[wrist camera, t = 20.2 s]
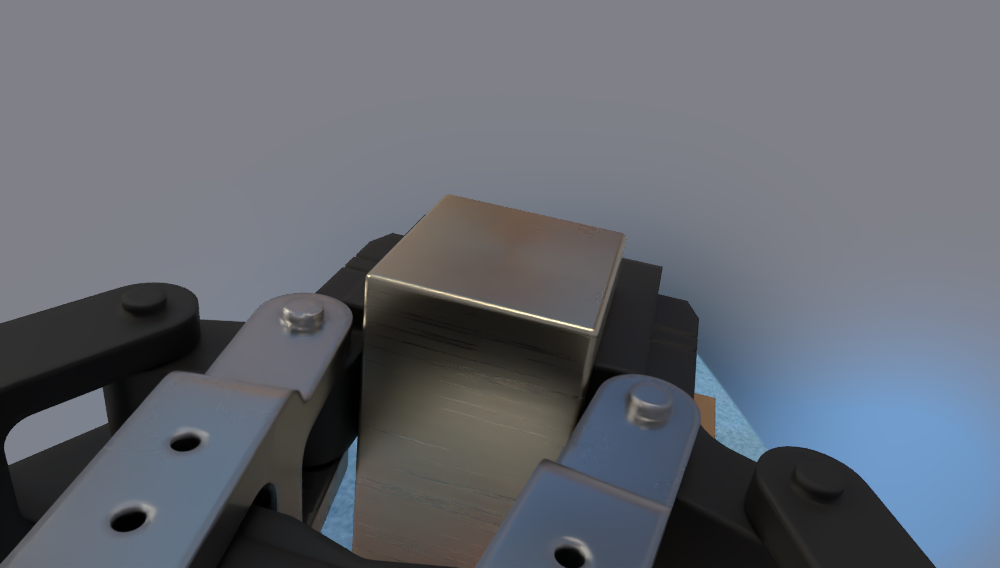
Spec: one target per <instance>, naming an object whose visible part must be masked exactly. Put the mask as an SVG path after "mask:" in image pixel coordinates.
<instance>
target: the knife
mask: <svg viewBox="0 0 1000 568" xmlns="http://www.w3.org/2000/svg"><path fill="white" fill-rule="evenodd" d="M626 240H627V239H626V235H624V234H623V233H620V232H615V231H610V230H606V229H601V228H597V227H593V226H588V225H584V224H579V223H575V222H570V221H566V220H561V219H557V218H552V217H548V216H544V215H539V214H535V213H530V212H525V211H521V210H516V209H512V208H508V207H503V206H499V205H494V204H490V203H485V202H481V201H476V200H472V199H468V198H463V197H458V196H454V195H450V194H449V195H445V196H444V197H443V198H442V199H441V200H440V201H439V202H438V203H437V204H436V205H435V206H434V207H433V208H432V209H431V210H430V211H429V212H428V213H427V214H426V215H425V216H424V217H423V218H422V219H421V220H420V221H419V222H418V223H417V224H416V225H415V226H414V227H413V228H412V229H411V230H410V231H409V232H408V233H407V234H406V235H405V236H404V237H403V238H402V239H401V240H400V241H399V242H398V243H397V244H396V245H395V247H394V248H393V249H392V250H391V251H390V252H389V253H388V254H387V255H386V256H385V257H384V258H383V259H382V260H381V261H380V262H379V263H378V264H377V265H376V266H375V267H374V268H373V269H372V270H371V271H370V272H369V273H368V274H367V276H366V280H365V300H364V320H363V340H362V360H361V380H360V400H359V420H358V440H357V460H356V480H355V500H354V520H353V540H352V552H353V553H354V554H356V555H358V556H360V557H362V558H366V559H370V560H379V561H391V562H402V563H414V564H426V565H437V566H449V567H459V568H475V566H476V565H477V563H478V562H479V560H480V558H481V557H482V555H483V553H484V552H485V550H486V549H487V547H488V545H489V544H490V542H491V540H492V539H493V537H494V535H495V534H496V532H497V531H498V529H499V527H500V526H501V524H502V522H503V521H504V519H505V518H506V516H507V514H508V513H509V511H510V509H511V508H512V506H513V504H514V503H515V501H516V500H517V498H518V496H519V495H520V493H521V491H522V490H523V488H524V487H525V485H526V483H527V482H528V480H529V478H530V477H531V475H532V474H533V472H534V470H535V469H536V467H537V466H538V464H539V463H540V462H541V461H542V460H543V459H545V458H546V459H549V460H551V461H554V462H556V460H557V459H558V457H559V455H560V453H561V452H562V450H563V448H564V447H565V445H566V443H567V441H568V440H569V438H570V436H571V435H572V433H573V431H574V429H575V428H576V426H577V424H578V423H579V421H580V419H581V417H582V414H583V410H584V405H585V401H586V396H587V392H588V388H589V383H590V379H591V375H592V370H593V366H594V362H595V358H596V355H597V351H598V348H599V344H600V341H601V337H602V334H603V330H604V327H605V323H606V320H607V316H608V313H609V309H610V306H611V302H612V299H613V295H614V292H615V288H616V283H617V279H618V275H619V270H620V266H621V262H622V257H623V253H624V249H625V244H626Z"/></svg>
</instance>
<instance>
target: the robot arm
mask: <svg viewBox="0 0 1000 568" xmlns="http://www.w3.org/2000/svg"><path fill="white" fill-rule="evenodd" d="M425 215H426V214H425ZM425 215H424V216H425ZM424 216H423V217H424ZM423 217H422V218H423ZM422 218H421V219H422ZM421 219H420V220H421ZM420 220H419V221H420ZM419 221H418V222H419ZM418 222H417V223H418ZM417 223H416V224H417ZM416 224H415V225H416ZM415 225H414V226H415ZM414 226H413V227H414ZM413 227H412V228H413ZM412 228H411V229H412ZM411 229H410V230H411ZM410 230H409V231H410ZM409 231H408V232H409ZM408 232H407V233H408ZM407 233H406V234H407ZM406 234H405V235H406ZM405 235H404V236H405ZM404 236H403V235H399V234H395V233H392V234H389V235H386V236H384V237H381V238H378V239H376V240H373V241H371V242H369V243H368V244H367V245H366V246H365V247H364V248H363V249H362V250H361V251H360V252H359V253H358V254H357V255H356V257H353V258H352V259H351V260H350V261H349V262H348V263H347V264H346V266H345V268H341V269H340V270H339V271H338V272H337V273H336V274H335V275H334V276H333V277H332V278H331V279H330V280H329V281H328V282H327V283H326V284H325V285H323V286H322V288H320V289H319V290H318V291H317V292H316V293H294V294H286V295H282V296H278V297H275V298H273V299H270V300H268V301H266V302H265V303H263V304H262V305H260V306H259V307H258V308H257V309H256V310H255V312H254V313H253V314H252V315H251V317H250V318H249V319H248V320H247V322H235V321H218V320H200V316H199V304H198V299H197V297H196V296H195V294H193V293H192V292H191V291H189V290H188V289H186V288H183V287H181V286H177V285H173V284H167V283H140V284H133V285H128V286H124V287H120V288H117V289H114V290H110V291H107V292H104V293H100V294H97V295H94V296H90V297H87V298H84V299H81V300H77V301H74V302H70V303H67V304H64V305H61V306H57V307H54V308H51V309H47V310H44V311H40V312H37V313H34V314H31V315H27V316H24V317H21V318H17V319H14V320H11V321H7V322H4V323H1V324H0V568H459V567H449V566H437V565H426V564H414V563H402V562H391V561H379V560H370V559H366V558H362V557H360V556H358V555H356V554H354V553H353V552H351V551H349V550H348V549H346V548H344V547H343V546H341V545H339V544H338V543H336V542H334V541H333V540H331V539H329V538H328V537H326V536H324V535H323V534H321V533H320V532H321V529H322V527H323V524H324V522H325V520H326V517H327V515H328V513H329V510H330V508H331V505H332V503H333V501H334V498H335V496H336V494H337V491H338V489H339V486H340V484H341V482H342V479H343V477H344V475H345V472H346V469H347V466H348V448H349V447H350V446H351V444H352V443H353V441H354V440H355V438H356V437H357V436H358V420H359V400H360V380H361V360H362V340H363V320H364V300H365V280H366V276H367V274H368V273H369V272H370V271H371V270H372V269H373V268H374V267H375V266H376V265H377V264H378V263H379V262H380V261H381V260H382V259H383V258H384V257H385V256H386V255H387V254H388V253H389V252H390V251H391V250H392V249H393V248H394V247H395V245H396V244H397V243H398V242H399V241H400V240H401V239H402V238H403V237H404ZM661 273H662V267H661V266H656V265H652V264H648V263H643V262H639V261H635V260H630V259H625V258H622V262H621V266H620V270H619V275H618V279H617V283H616V288H615V292H614V295H613V299H612V302H611V306H610V309H609V313H608V316H607V320H606V323H605V327H604V330H603V334H602V337H601V341H600V344H599V348H598V351H597V355H596V358H595V362H594V366H593V370H592V375H591V379H590V383H589V388H588V392H587V396H586V401H585V405H584V410H583V414H582V417H581V419H580V421H579V423H578V424H577V426H576V428H575V429H574V431H573V433H572V435H571V436H570V438H569V440H568V441H567V443H566V445H565V447H564V448H563V450H562V452H561V453H560V455H559V457H558V459H557V460H556V462H554V461H551V460H549V459H546V458H545V459H543V460H542V461H541V462H540V463H539V464H538V466H537V467H536V469H535V470H534V472H533V474H532V475H531V477H530V478H529V480H528V482H527V483H526V485H525V487H524V488H523V490H522V491H521V493H520V495H519V496H518V498H517V500H516V501H515V503H514V504H513V506H512V508H511V509H510V511H509V513H508V514H507V516H506V518H505V519H504V521H503V522H502V524H501V526H500V527H499V529H498V531H497V532H496V534H495V535H494V537H493V539H492V540H491V542H490V544H489V545H488V547H487V549H486V550H485V552H484V553H483V555H482V557H481V558H480V560H479V562H478V563H477V565H476V566H475V568H936V567H935V566H934V565H933V563H932V562H931V561H930V560H929V558H928V557H927V556H926V555H925V554H924V552H923V551H922V550H921V549H920V548H919V546H918V545H917V544H916V543H915V541H914V540H913V539H912V538H911V537H910V535H909V534H908V533H907V532H906V530H905V529H904V528H903V527H902V526H901V525H900V523H899V522H898V521H897V520H896V518H895V517H894V516H893V515H892V514H891V512H890V511H889V510H888V509H887V507H886V506H885V505H884V504H883V502H882V501H881V500H880V499H879V498H878V497H877V495H876V494H875V493H874V492H873V490H872V489H871V488H870V487H869V486H868V484H867V483H866V482H865V481H864V480H863V479H862V478H861V477H860V476H859V475H858V474H857V473H856V472H854V471H853V470H852V469H850V468H849V467H848V466H846V465H845V464H843V463H841V462H840V461H838V460H836V459H834V458H832V457H830V456H828V455H825V454H823V453H820V452H817V451H814V450H811V449H807V448H801V447H789V446H785V447H777V448H773V449H770V450H768V451H766V452H765V453H764V454H763V455H761V457H760V458H759V460H758V462H755V461H753V460H751V459H749V458H747V457H745V456H743V455H741V454H739V453H737V452H735V451H733V450H731V449H729V448H727V447H726V446H724V445H723V444H721V443H720V442H718V441H717V440H716V439H714V438H713V437H712V436H711V435H710V434H709V433H708V432H707V431H706V430H705V429H704V428H703V427H702V425H701V424H700V423H701V412H700V410H699V407H698V406H697V404H696V403H695V401H694V389H695V373H696V357H697V353H696V351H697V340H698V339H697V336H698V323H699V318H698V317H697V315H696V314H695V312H694V311H693V309H692V307H691V306H690V304H689V303H688V301H685V300H681V299H676V298H672V297H668V296H663V295H659V294H658V291H659V285H660V279H661ZM101 387H103V392H104V398H105V405H106V411H107V417H108V423H107V424H105V425H103V426H100V427H98V428H95V429H93V430H91V431H88V432H86V433H84V434H81V435H79V436H77V437H74V438H72V439H70V440H67V441H65V442H63V443H60V444H58V445H55V446H53V447H51V448H49V449H46V450H44V451H41V452H39V453H37V454H34V455H32V456H30V457H27V458H25V459H23V460H20V461H18V462H16V463H13V464H11V465H8V464H7V460H6V456H5V452H4V443H5V440H6V437H7V435H8V433H9V432H10V430H11V429H12V428H13V427H14V426H15V425H16V424H17V423H18V422H20V421H21V420H22V419H24V418H26V417H28V416H30V415H32V414H35V413H37V412H40V411H42V410H45V409H48V408H50V407H52V406H55V405H58V404H60V403H63V402H66V401H68V400H71V399H73V398H76V397H78V396H81V395H84V394H86V393H89V392H91V391H94V390H96V389H99V388H101Z"/></svg>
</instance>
